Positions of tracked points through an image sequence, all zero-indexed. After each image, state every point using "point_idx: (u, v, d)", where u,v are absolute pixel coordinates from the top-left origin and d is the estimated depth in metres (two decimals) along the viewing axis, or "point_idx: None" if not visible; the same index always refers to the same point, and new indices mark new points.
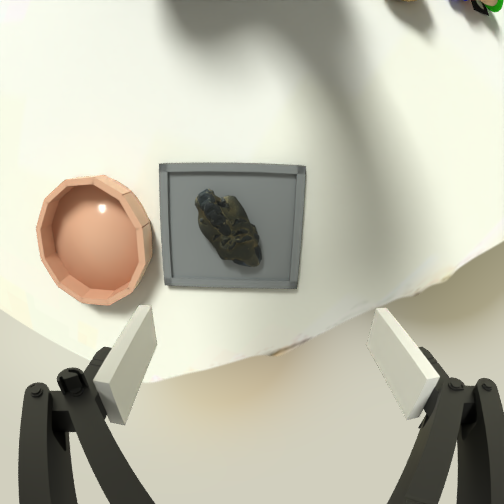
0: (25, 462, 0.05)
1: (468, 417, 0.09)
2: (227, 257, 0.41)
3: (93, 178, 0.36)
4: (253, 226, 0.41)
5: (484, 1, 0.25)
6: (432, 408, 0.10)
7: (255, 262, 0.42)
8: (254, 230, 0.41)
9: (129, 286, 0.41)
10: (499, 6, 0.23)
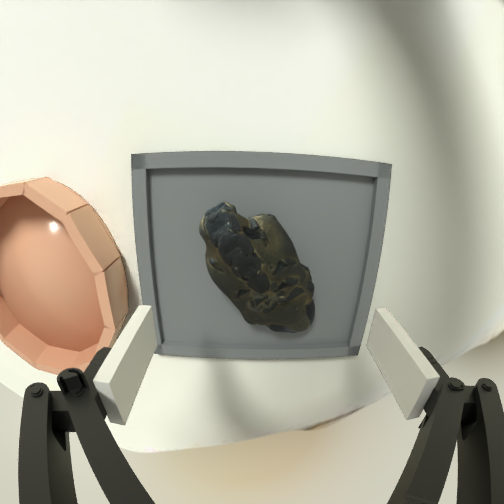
0: (25, 462, 0.05)
1: (468, 417, 0.09)
2: (259, 322, 0.23)
3: (23, 184, 0.18)
4: (306, 269, 0.22)
5: None
6: (432, 408, 0.10)
7: (304, 326, 0.24)
8: (307, 276, 0.22)
9: None
10: None
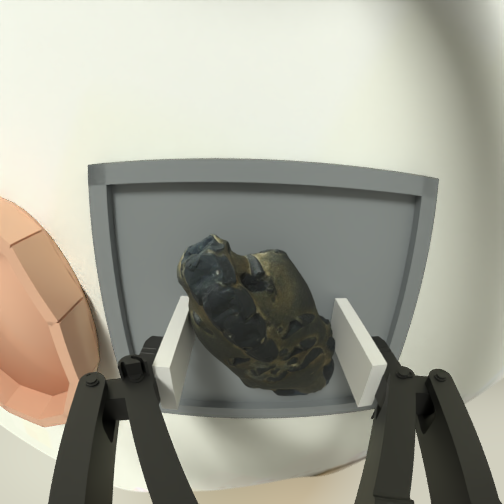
0: (66, 450, 0.06)
1: (421, 408, 0.10)
2: (262, 388, 0.17)
3: None
4: (326, 323, 0.16)
5: None
6: (382, 398, 0.11)
7: (319, 387, 0.18)
8: (328, 332, 0.16)
9: (65, 413, 0.17)
10: None
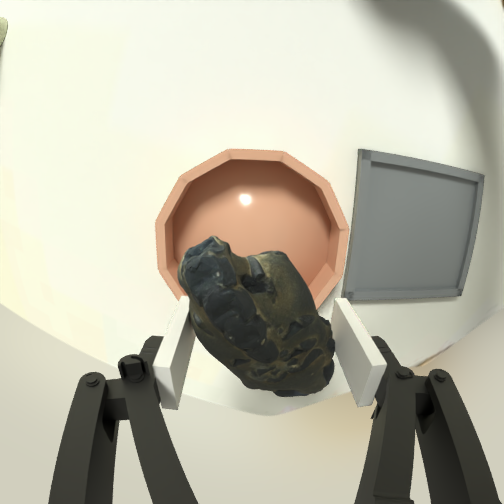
0: (66, 450, 0.06)
1: (421, 408, 0.10)
2: (262, 389, 0.17)
3: (283, 153, 0.27)
4: (326, 324, 0.16)
5: None
6: (382, 398, 0.11)
7: (319, 388, 0.18)
8: (328, 333, 0.16)
9: None
10: None
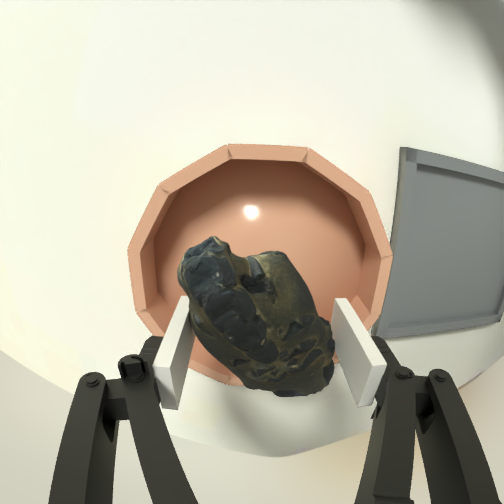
0: (66, 450, 0.06)
1: (421, 408, 0.10)
2: (262, 389, 0.17)
3: (307, 150, 0.18)
4: (326, 324, 0.16)
5: None
6: (382, 398, 0.11)
7: (319, 388, 0.18)
8: (328, 333, 0.16)
9: None
10: None
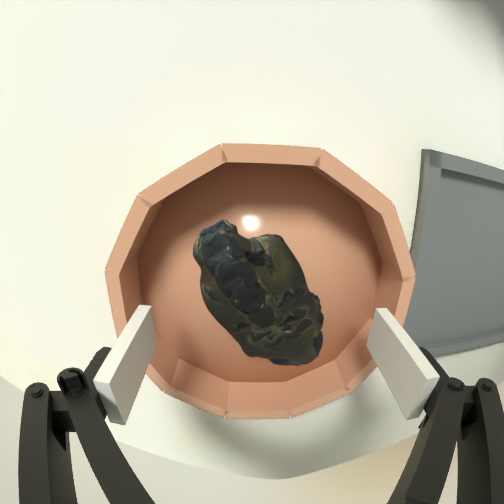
0: (25, 462, 0.05)
1: (468, 417, 0.09)
2: (260, 356, 0.20)
3: (319, 151, 0.15)
4: (315, 298, 0.19)
5: None
6: (432, 408, 0.10)
7: (310, 359, 0.21)
8: (317, 306, 0.19)
9: (350, 384, 0.20)
10: None
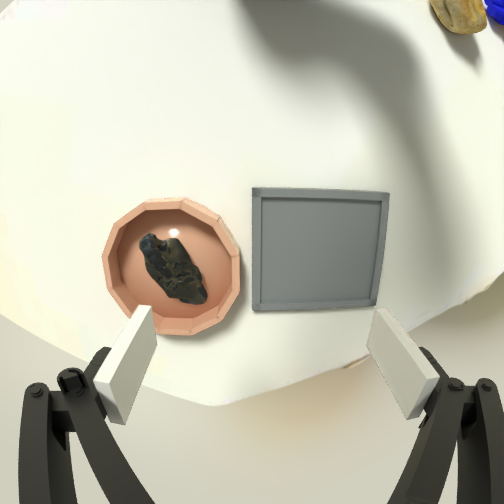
0: (25, 462, 0.05)
1: (468, 417, 0.09)
2: (173, 296, 0.42)
3: (180, 202, 0.37)
4: (196, 267, 0.41)
5: None
6: (432, 408, 0.10)
7: (200, 300, 0.43)
8: (197, 271, 0.41)
9: (219, 315, 0.42)
10: None
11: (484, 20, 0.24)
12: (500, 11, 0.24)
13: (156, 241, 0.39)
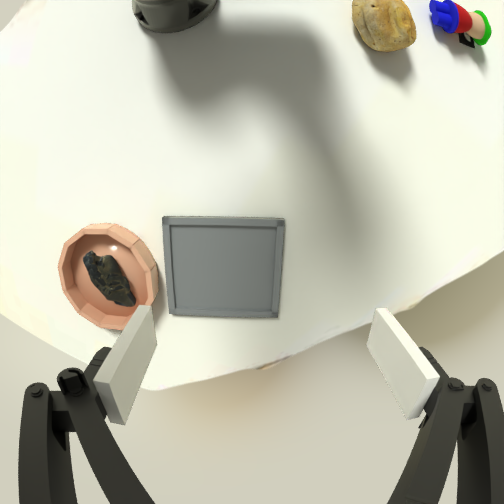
0: (25, 462, 0.05)
1: (468, 417, 0.09)
2: (109, 299, 0.51)
3: (107, 229, 0.45)
4: (124, 278, 0.50)
5: (470, 34, 0.33)
6: (432, 408, 0.10)
7: (130, 304, 0.52)
8: (125, 281, 0.50)
9: None
10: (485, 40, 0.32)
11: (407, 35, 0.32)
12: (444, 18, 0.32)
13: (94, 257, 0.47)
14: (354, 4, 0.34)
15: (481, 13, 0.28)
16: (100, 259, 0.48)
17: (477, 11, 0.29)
